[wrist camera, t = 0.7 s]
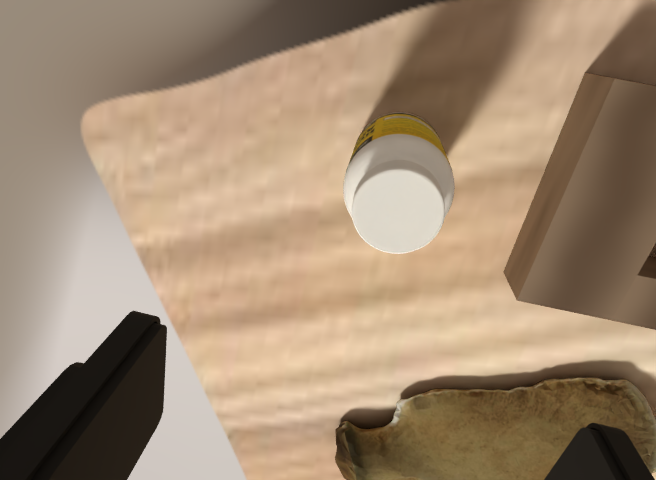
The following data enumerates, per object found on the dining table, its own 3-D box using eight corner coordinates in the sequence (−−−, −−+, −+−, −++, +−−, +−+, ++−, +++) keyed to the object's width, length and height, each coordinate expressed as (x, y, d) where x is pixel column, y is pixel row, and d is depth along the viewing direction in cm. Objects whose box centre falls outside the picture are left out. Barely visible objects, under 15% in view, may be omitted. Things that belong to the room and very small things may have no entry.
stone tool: (356, 490, 41) (650, 471, 35) (351, 530, 37) (681, 516, 32) (326, 388, 38) (643, 350, 32) (317, 420, 34) (676, 383, 28)
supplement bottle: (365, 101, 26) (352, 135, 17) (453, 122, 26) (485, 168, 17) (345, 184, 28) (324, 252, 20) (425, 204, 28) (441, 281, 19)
